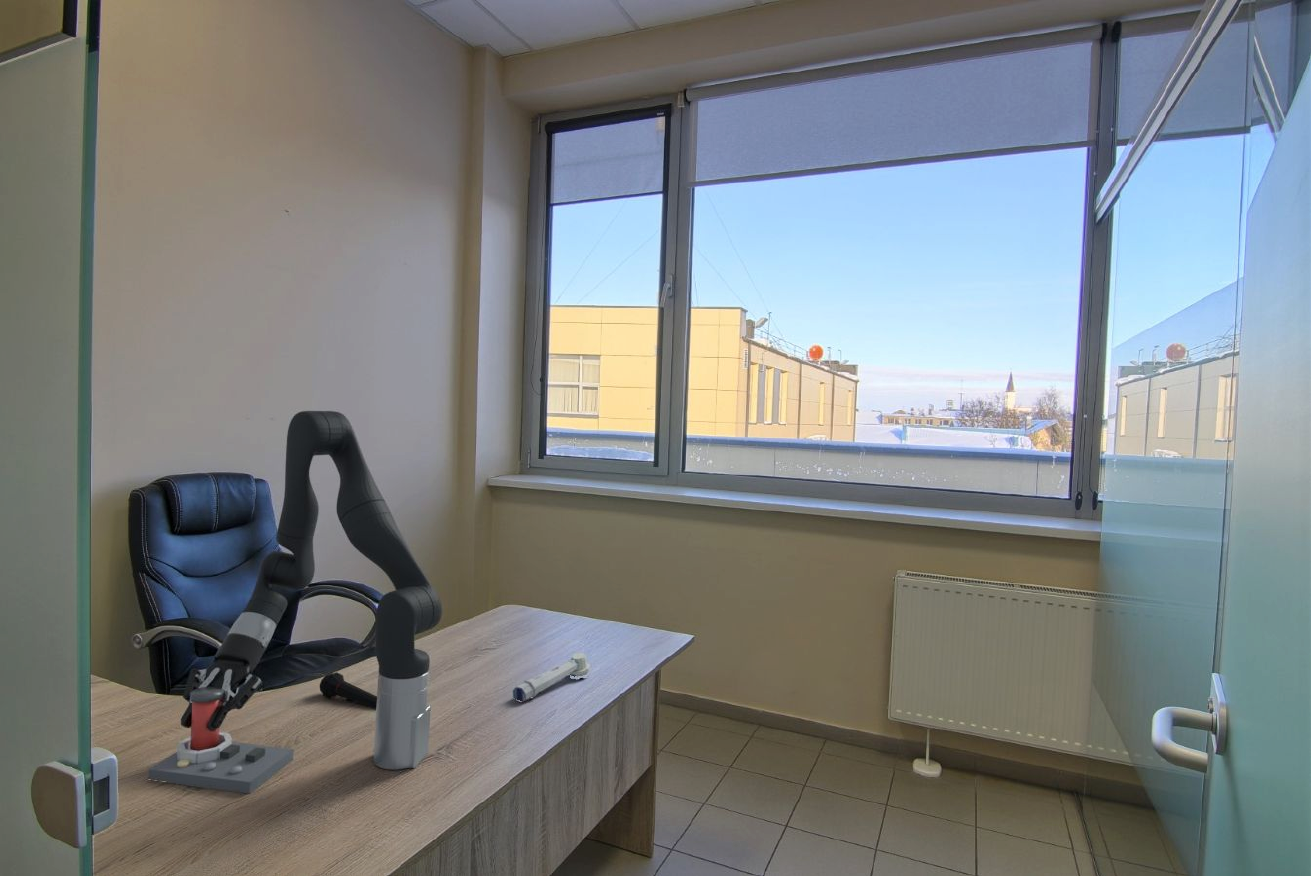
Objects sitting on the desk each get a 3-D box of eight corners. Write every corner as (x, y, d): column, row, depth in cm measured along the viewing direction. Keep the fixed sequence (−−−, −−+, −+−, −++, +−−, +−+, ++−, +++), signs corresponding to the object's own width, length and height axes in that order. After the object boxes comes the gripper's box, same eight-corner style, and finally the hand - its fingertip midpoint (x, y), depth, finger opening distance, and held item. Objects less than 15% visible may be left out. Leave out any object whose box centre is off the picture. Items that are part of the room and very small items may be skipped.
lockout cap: (227, 739, 130) (230, 687, 129) (207, 753, 124) (209, 698, 124) (201, 736, 130) (204, 684, 130) (180, 749, 125) (183, 695, 125)
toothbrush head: (510, 684, 164) (578, 645, 184) (511, 710, 165) (579, 668, 185) (526, 690, 161) (593, 650, 182) (526, 716, 162) (594, 674, 183)
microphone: (395, 721, 156) (326, 693, 162) (405, 695, 157) (336, 668, 163) (381, 723, 151) (310, 694, 157) (390, 696, 152) (320, 669, 158)
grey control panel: (292, 759, 130) (294, 739, 130) (249, 793, 118) (250, 771, 118) (199, 748, 132) (200, 728, 132) (147, 780, 120) (148, 759, 120)
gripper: (204, 628, 135) (149, 715, 123) (272, 635, 133) (224, 724, 122) (222, 646, 140) (172, 731, 128) (288, 653, 139) (243, 740, 127)
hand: (197, 727), depth 125 cm, fingers closed on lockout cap, 4 cm apart
